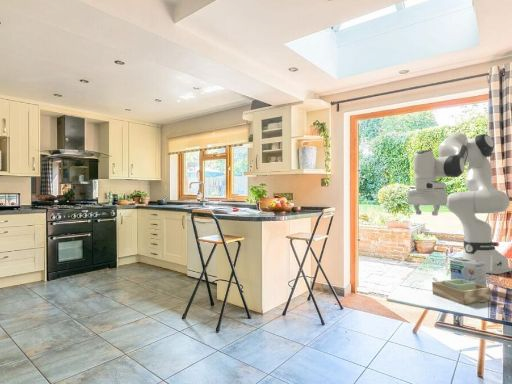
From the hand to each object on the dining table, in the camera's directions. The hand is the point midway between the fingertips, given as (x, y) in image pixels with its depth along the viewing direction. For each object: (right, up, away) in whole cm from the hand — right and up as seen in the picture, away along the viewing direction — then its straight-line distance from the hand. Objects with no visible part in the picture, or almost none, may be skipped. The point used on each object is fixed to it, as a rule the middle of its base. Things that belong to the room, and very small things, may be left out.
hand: (426, 215), depth 144 cm
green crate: (-3, -28, -28) cm, 40 cm away
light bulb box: (+8, -29, -16) cm, 34 cm away
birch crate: (-3, -28, -28) cm, 40 cm away
